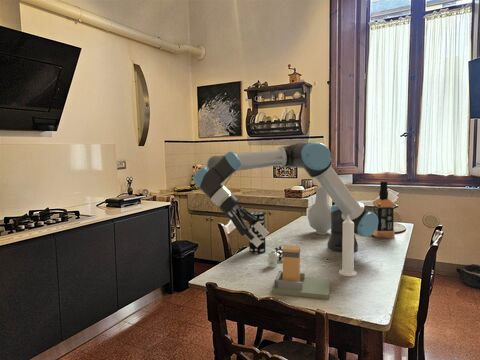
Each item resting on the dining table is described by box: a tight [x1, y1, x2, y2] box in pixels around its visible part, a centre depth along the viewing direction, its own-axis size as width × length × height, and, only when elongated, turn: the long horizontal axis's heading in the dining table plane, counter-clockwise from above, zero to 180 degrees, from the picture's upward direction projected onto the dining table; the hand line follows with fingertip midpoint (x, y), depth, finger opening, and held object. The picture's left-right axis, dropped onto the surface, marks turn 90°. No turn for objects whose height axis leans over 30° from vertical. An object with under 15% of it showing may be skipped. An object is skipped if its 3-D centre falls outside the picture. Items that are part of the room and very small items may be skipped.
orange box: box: [281, 244, 301, 282], centre depth 131 cm, size 6×5×14 cm
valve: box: [267, 245, 283, 269], centre depth 158 cm, size 7×7×12 cm
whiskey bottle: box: [371, 180, 396, 239], centre depth 199 cm, size 10×10×32 cm
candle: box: [338, 215, 358, 278], centre depth 143 cm, size 7×7×25 cm
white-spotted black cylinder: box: [248, 210, 267, 255], centre depth 176 cm, size 8×8×20 cm
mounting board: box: [272, 270, 331, 300], centre depth 131 cm, size 20×15×4 cm
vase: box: [307, 186, 333, 236], centre depth 208 cm, size 17×16×28 cm
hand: (263, 239), depth 133 cm, fingers open, 13 cm apart
